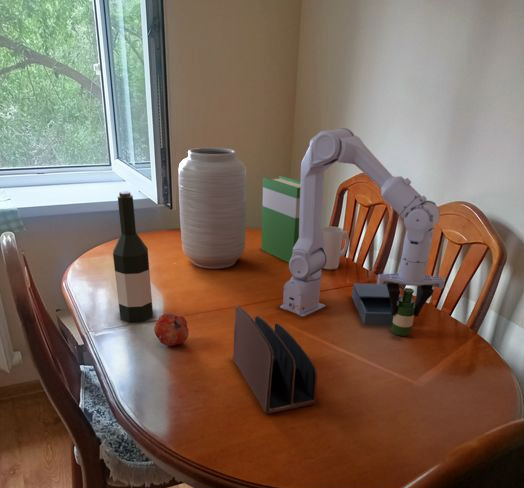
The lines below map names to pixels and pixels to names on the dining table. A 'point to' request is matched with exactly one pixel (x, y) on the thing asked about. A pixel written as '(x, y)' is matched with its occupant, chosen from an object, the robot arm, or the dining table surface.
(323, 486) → the dining table surface
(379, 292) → the flap
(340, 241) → the mug
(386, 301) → the tray
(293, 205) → the hardback book
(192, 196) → the vase
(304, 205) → the robot arm
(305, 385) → the letter holder
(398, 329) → the bottle
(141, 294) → the wine bottle
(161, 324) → the pomegranate
